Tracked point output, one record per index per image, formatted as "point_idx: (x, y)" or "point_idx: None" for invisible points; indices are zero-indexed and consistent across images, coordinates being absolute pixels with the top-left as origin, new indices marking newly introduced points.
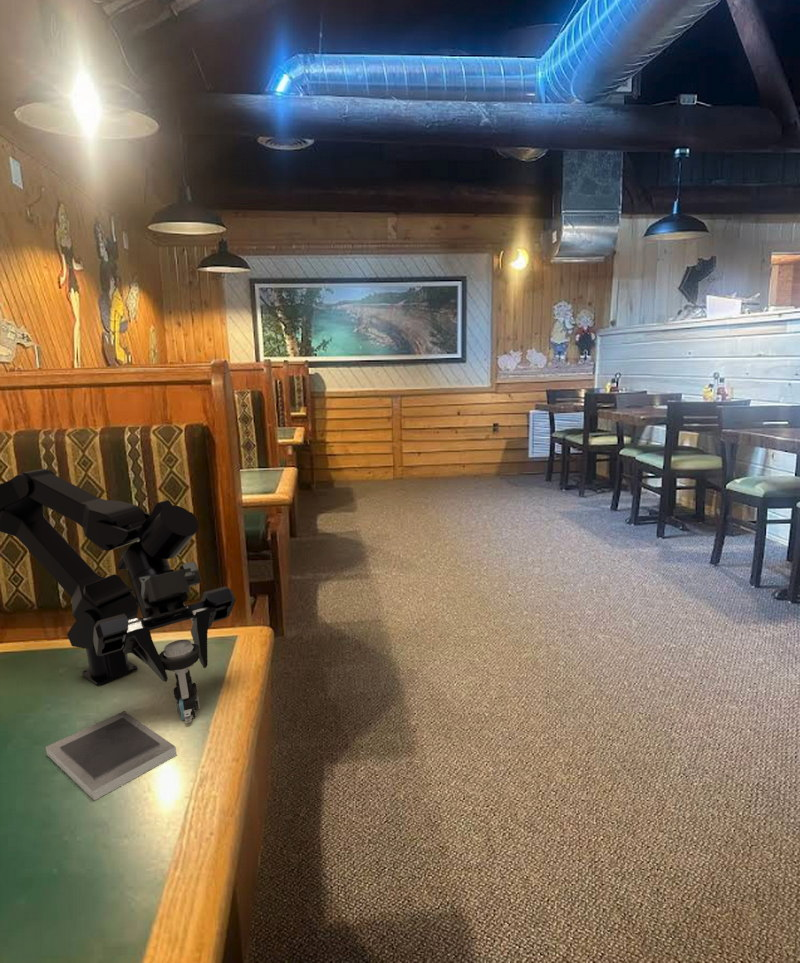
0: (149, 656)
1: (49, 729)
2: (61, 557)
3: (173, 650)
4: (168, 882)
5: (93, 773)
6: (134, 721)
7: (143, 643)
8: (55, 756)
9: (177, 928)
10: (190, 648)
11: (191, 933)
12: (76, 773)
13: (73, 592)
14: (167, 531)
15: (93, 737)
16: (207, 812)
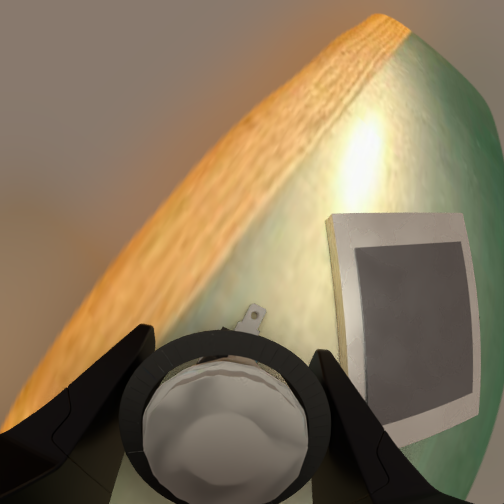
0: (389, 437)
1: None
2: None
3: (276, 409)
4: (392, 49)
5: (460, 254)
6: None
7: (423, 495)
8: (480, 370)
9: (391, 25)
10: (174, 386)
11: (383, 17)
12: (474, 284)
13: None
14: None
15: (434, 385)
16: (336, 74)
